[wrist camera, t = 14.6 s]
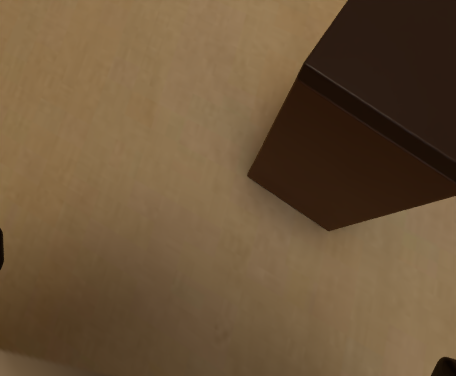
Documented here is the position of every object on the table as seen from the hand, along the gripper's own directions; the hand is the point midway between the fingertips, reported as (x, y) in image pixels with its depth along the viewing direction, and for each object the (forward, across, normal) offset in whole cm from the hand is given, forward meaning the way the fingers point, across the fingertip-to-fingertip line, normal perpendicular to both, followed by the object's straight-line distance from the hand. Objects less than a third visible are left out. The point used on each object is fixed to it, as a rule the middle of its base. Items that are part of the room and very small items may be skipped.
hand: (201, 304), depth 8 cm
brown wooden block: (+16, -2, +1) cm, 16 cm away
